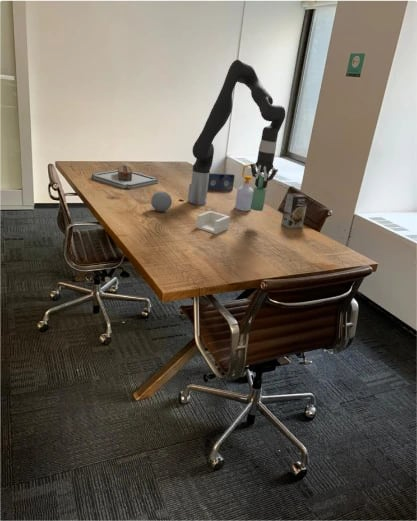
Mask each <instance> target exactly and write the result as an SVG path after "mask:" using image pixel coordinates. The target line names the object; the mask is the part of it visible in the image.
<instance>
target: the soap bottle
mask: <svg viewBox="0 0 417 521" xmlns="http://www.w3.org/2000/svg"><path fill="white" fill-rule="evenodd" d="M251 164H252V163H248V164H245V165H244V167H243V169H242V178H244V179H245V180H244V181H243V185H241V186H239V187H238V188H237V190H236V197H235V201H234V202H235V203H234V208H235V209H236V210H239V211H245V212H248V211H251V210H252V209H251V202H252V197H253V191H254V188H252V187H251V186H250V185H251V182H250V180H251V179H253V176H252V175H245V169H246V168H247V167H251V166H250V165H251Z"/></svg>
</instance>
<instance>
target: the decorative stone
mask: <svg viewBox="0 0 417 521" xmlns="http://www.w3.org/2000/svg"><path fill="white" fill-rule="evenodd" d="M150 202H151V205H152V208H153V209H154V210H156V211H157V212H161V213H163V212H166V211H168V210H169V209H170V208H171V205H172V202H173V201H172V197H171V195H170V194H169V193H168V192H167V191H163V190H162V191H161V190H160V191H156V192H154V194H153V195H152V196H151V200H150Z"/></svg>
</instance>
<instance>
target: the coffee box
mask: <svg viewBox="0 0 417 521" xmlns="http://www.w3.org/2000/svg"><path fill="white" fill-rule="evenodd" d="M286 194H287V196H286V198H285V199H286V200H285V204H284V210H283V213H282V220H281V225H282V226H285V228H287V229H292V228H293V229H294V228H295V229H296V228H297V229H298V228H303V225H304V220H305V216H306V211H307V207H308V202H309V195H306V194H303V193H286Z"/></svg>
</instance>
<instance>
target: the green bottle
mask: <svg viewBox="0 0 417 521" xmlns="http://www.w3.org/2000/svg"><path fill="white" fill-rule="evenodd" d="M263 182H264V175H263V174H261V175H260V176H259V181H258V186H257V187H256V186H254V187H253V197H252V202H251V210H252V211H257V212H262V211H263V210H264V205H265V201H266V195H267V190H268V189H266V188H265V189H263V188H262V187H263Z"/></svg>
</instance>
